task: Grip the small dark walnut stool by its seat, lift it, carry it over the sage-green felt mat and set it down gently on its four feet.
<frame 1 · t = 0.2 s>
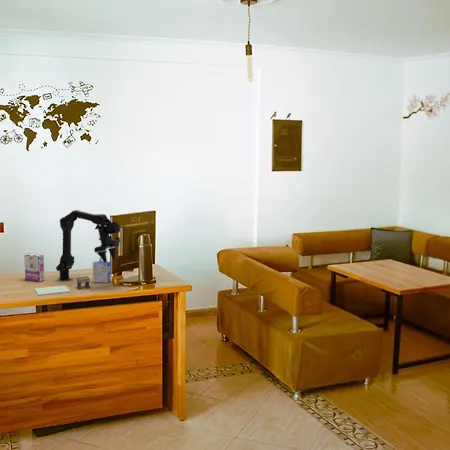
hand: (110, 260, 352), 15 cm above the table, tool pointing down, fingers open, 9 cm apart
felt mat: (52, 290, 342), on the table
ink cartridge box: (102, 281, 365), on the table
candy bar box: (34, 280, 365), on the table
walnut stool: (83, 287, 350), on the table
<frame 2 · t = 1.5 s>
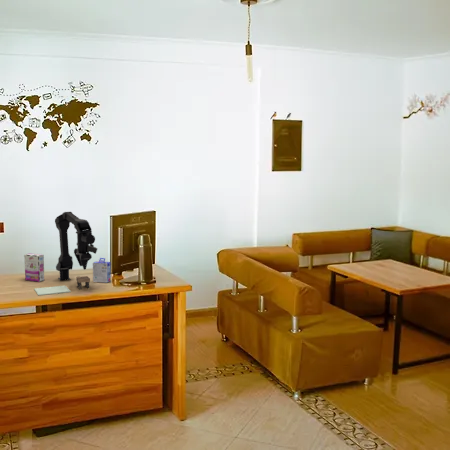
hand: (82, 267, 348), 12 cm above the table, tool pointing down, fingers open, 9 cm apart
nothing on the table moved.
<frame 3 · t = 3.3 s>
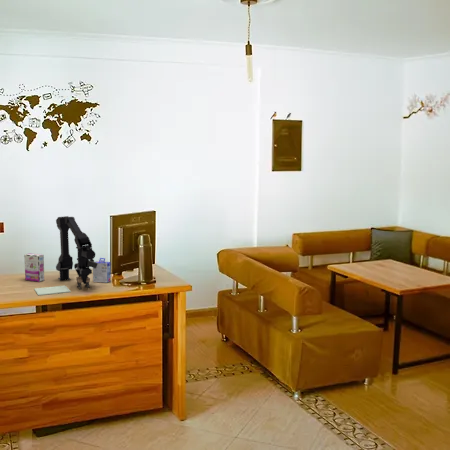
hand: (83, 282, 349), 3 cm above the table, tool pointing down, fingers closed on walnut stool, 6 cm apart
walnut stool: (83, 287, 350), on the table, touching gripper
everything else where it was.
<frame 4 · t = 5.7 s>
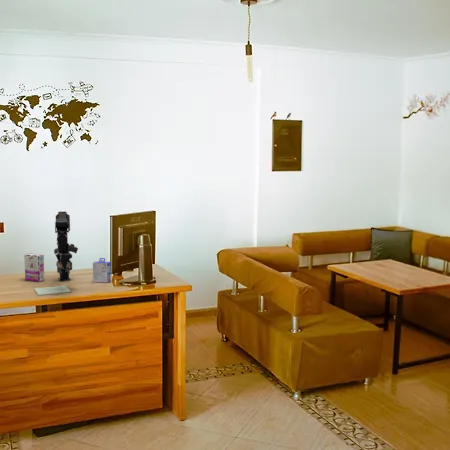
hand: (63, 267, 343), 13 cm above the table, tool pointing down, fingers closed on walnut stool, 6 cm apart
walnut stool: (63, 272, 343), point 10 cm above the table, touching gripper
everything else where it was.
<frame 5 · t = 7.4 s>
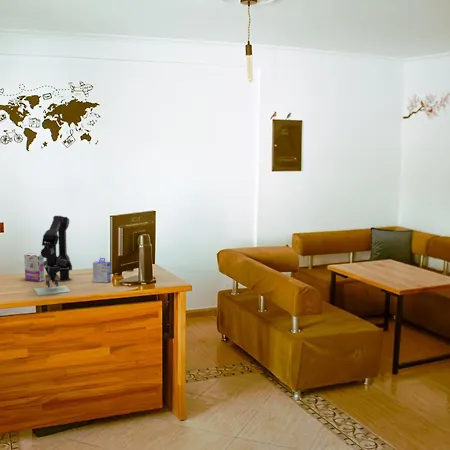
hand: (52, 280, 341), 6 cm above the table, tool pointing down, fingers closed on walnut stool, 6 cm apart
walnut stool: (52, 285, 341), point 3 cm above the table, touching gripper
everything else where it was.
when the fingers open (5 cm above the table, at t = 8.6 s): walnut stool drops 1 cm, resting on felt mat.
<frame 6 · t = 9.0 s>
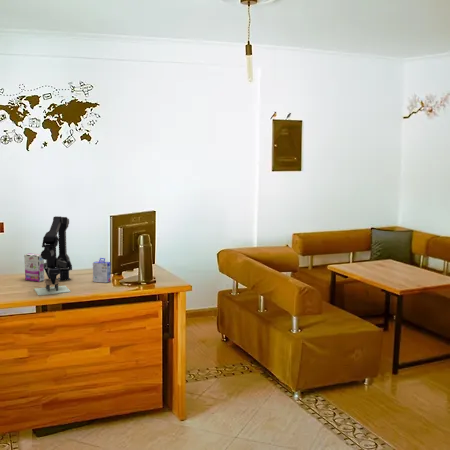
hand: (52, 282, 341), 5 cm above the table, tool pointing down, fingers open, 9 cm apart
walnut stool: (52, 289, 342), point 1 cm above the table, touching felt mat
everything else where it was.
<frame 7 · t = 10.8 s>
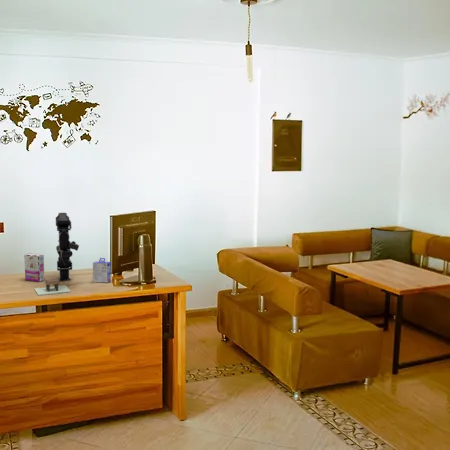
hand: (64, 264, 353), 13 cm above the table, tool pointing down, fingers open, 9 cm apart
nothing on the table moved.
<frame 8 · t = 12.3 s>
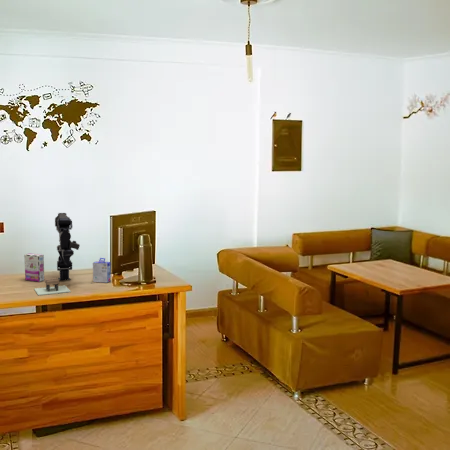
hand: (65, 263, 353), 13 cm above the table, tool pointing down, fingers open, 9 cm apart
nothing on the table moved.
at the end: walnut stool inside the target area on the felt mat (0.1 cm from its centre), point 0.6 cm above the felt mat's base; walnut stool tilted 0°; the gripper is holding nothing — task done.
